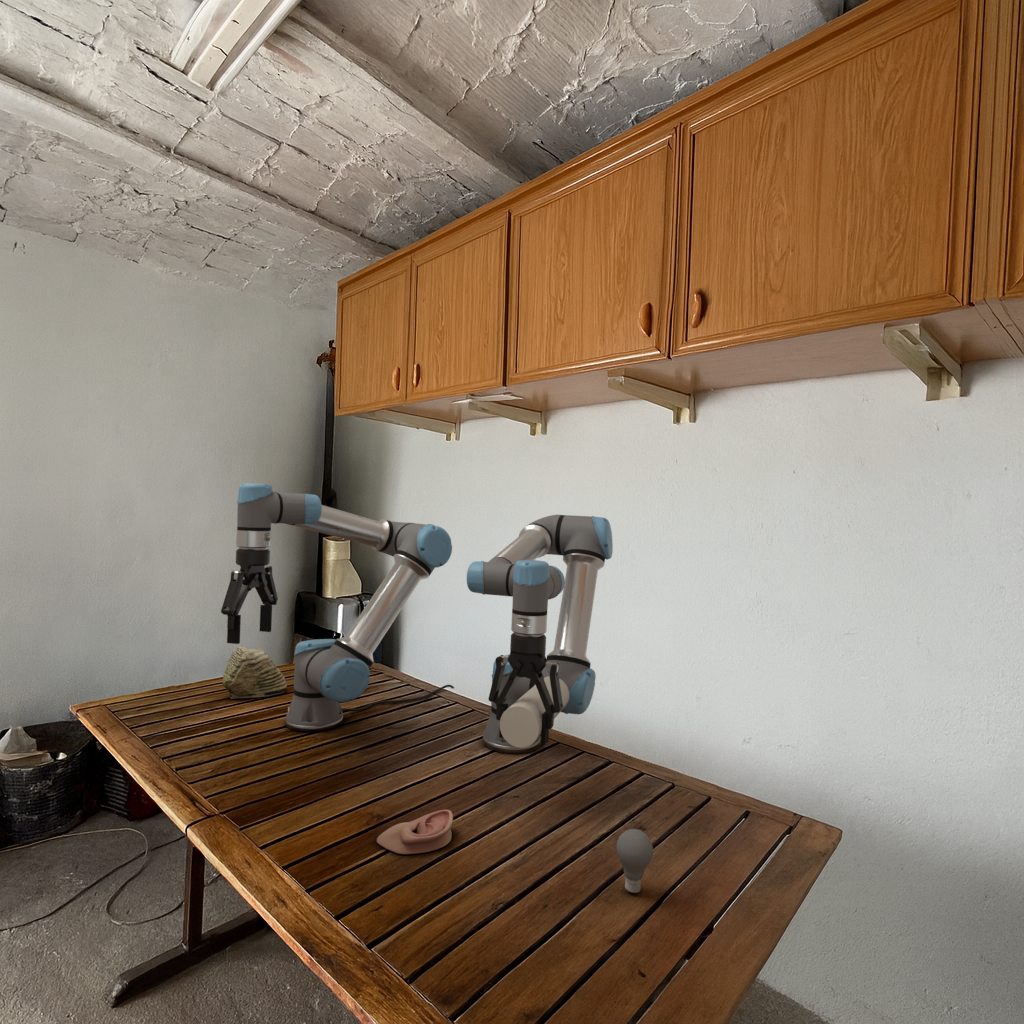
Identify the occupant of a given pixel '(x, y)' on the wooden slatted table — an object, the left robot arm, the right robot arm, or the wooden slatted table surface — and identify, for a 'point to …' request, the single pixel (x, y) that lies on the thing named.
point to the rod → (528, 716)
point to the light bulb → (634, 857)
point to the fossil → (252, 674)
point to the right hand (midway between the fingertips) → (523, 739)
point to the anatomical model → (419, 834)
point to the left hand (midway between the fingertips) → (250, 637)
